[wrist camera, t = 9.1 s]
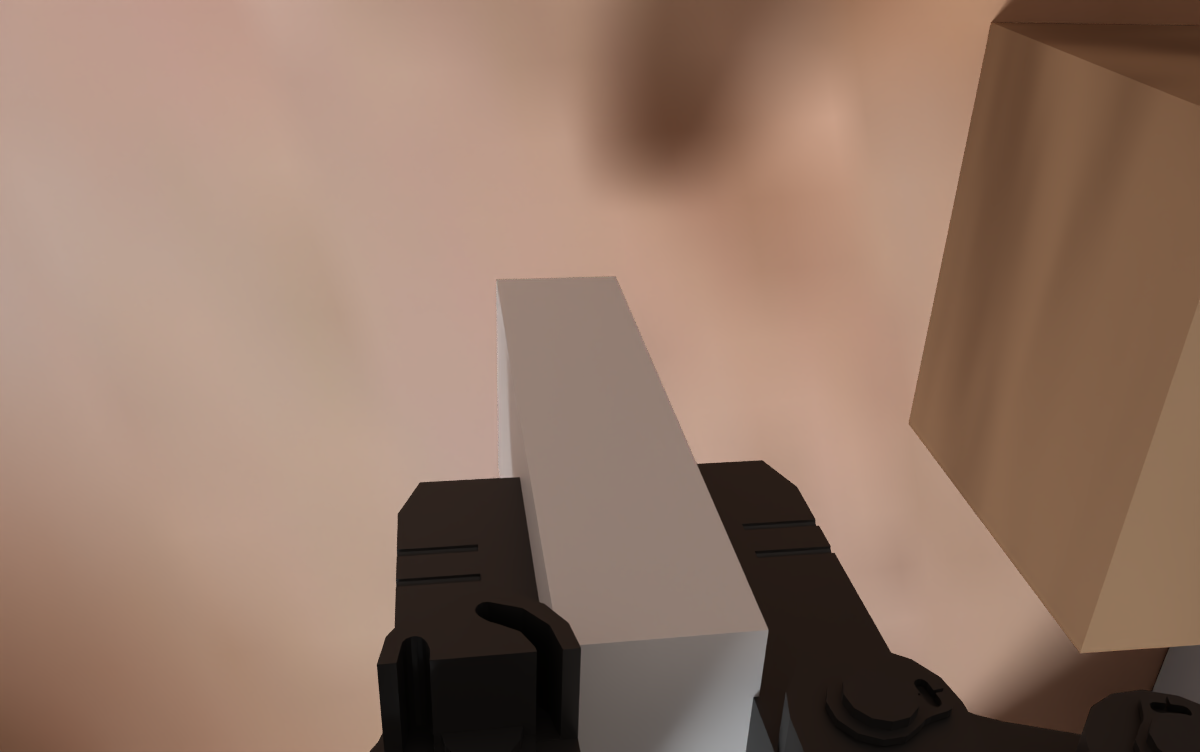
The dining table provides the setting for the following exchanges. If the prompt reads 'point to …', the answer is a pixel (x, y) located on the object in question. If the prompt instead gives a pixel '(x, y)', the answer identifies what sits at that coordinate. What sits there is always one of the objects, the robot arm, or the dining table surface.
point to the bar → (1180, 673)
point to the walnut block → (1078, 325)
